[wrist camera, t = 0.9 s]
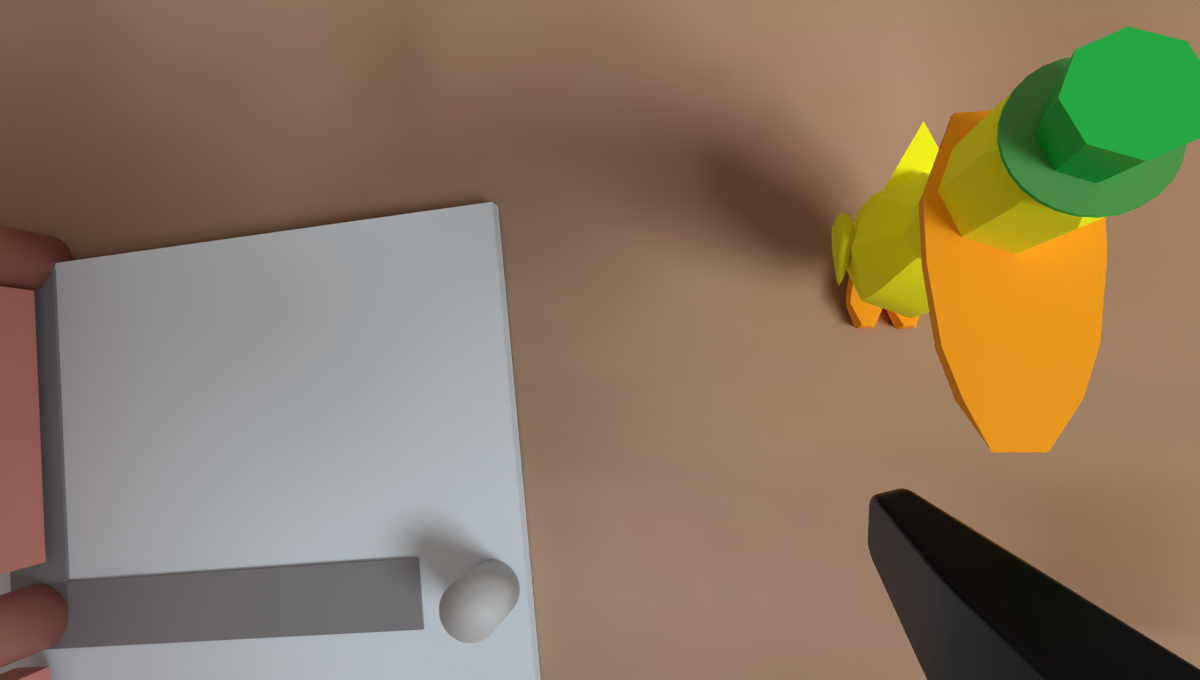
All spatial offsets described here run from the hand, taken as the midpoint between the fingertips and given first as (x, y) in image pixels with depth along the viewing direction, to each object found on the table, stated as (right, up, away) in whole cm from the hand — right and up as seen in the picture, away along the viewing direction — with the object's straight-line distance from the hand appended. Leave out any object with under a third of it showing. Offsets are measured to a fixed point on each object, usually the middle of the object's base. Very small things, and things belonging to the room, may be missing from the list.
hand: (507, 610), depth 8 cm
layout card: (-11, -5, +14) cm, 18 cm away
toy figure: (+9, +4, +11) cm, 15 cm away
